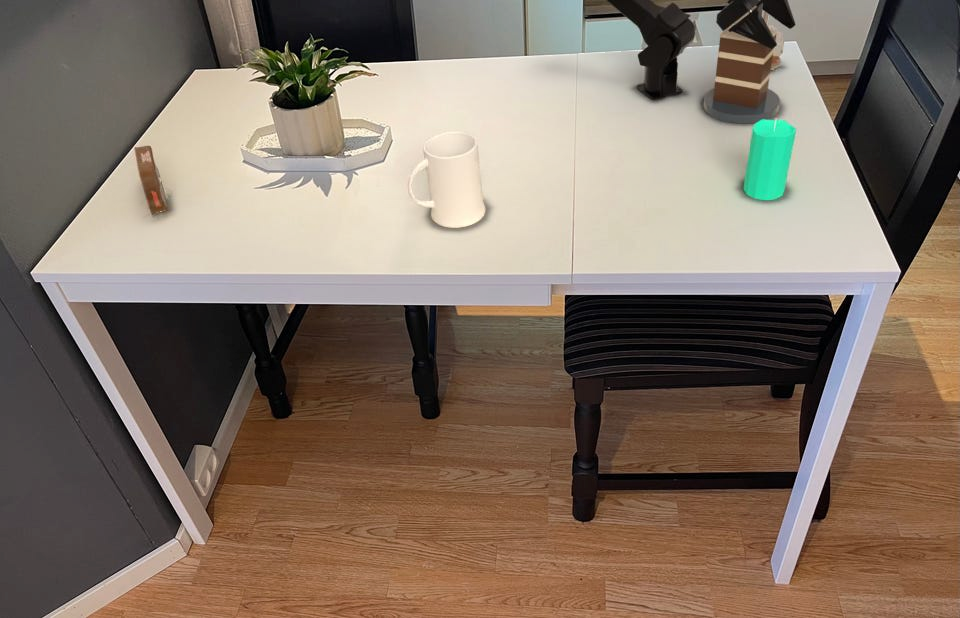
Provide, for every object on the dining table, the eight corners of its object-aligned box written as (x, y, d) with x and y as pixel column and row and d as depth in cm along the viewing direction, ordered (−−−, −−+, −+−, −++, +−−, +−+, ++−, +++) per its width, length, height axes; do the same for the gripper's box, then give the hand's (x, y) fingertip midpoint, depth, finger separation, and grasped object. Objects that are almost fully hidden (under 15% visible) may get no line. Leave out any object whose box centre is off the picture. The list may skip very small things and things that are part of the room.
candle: (786, 201, 118) (800, 128, 111) (744, 199, 120) (755, 127, 112) (782, 180, 123) (796, 109, 115) (742, 178, 124) (753, 108, 116)
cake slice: (712, 100, 142) (720, 34, 134) (723, 88, 145) (731, 24, 137) (756, 108, 138) (766, 41, 130) (766, 96, 141) (777, 30, 133)
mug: (422, 240, 118) (410, 170, 111) (404, 212, 125) (392, 144, 117) (494, 218, 121) (488, 149, 114) (473, 192, 127) (466, 125, 120)
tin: (146, 182, 139) (128, 139, 134) (164, 177, 140) (147, 135, 135) (154, 224, 128) (135, 179, 123) (173, 219, 129) (155, 174, 124)
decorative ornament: (766, 54, 158) (778, -23, 149) (787, 69, 152) (801, -10, 143) (730, 61, 157) (740, -16, 147) (750, 76, 151) (762, -3, 142)
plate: (689, 100, 146) (690, 93, 145) (749, 85, 149) (750, 77, 148) (730, 130, 136) (731, 122, 135) (794, 112, 139) (795, 104, 138)
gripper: (745, -57, 117) (807, 27, 119) (786, -90, 128) (843, -13, 130) (690, -9, 126) (749, 68, 128) (733, -44, 137) (787, 28, 139)
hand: (784, 36), depth 131 cm, fingers open, 9 cm apart
